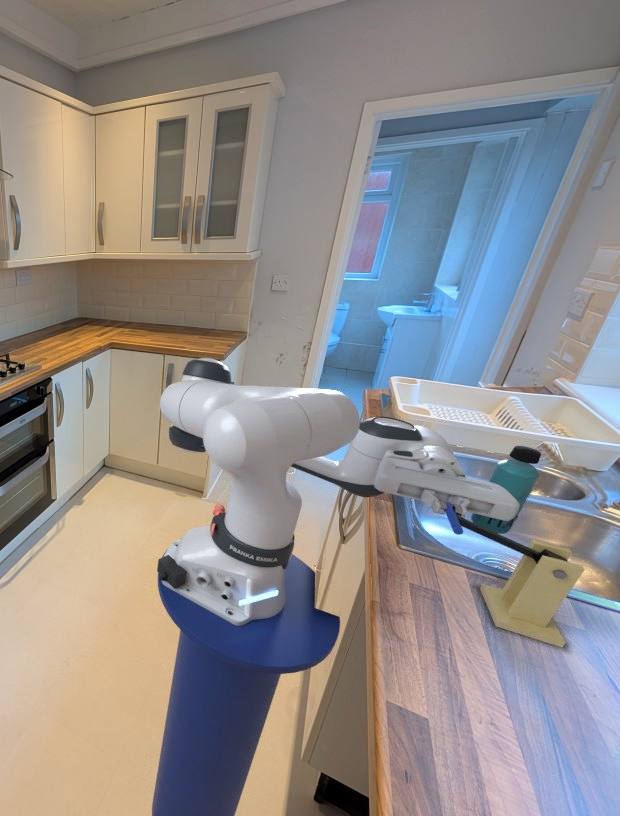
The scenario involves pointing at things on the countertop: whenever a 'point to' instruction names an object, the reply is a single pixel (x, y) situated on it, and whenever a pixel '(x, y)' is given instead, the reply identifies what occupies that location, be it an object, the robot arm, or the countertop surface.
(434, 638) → the countertop surface
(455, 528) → the lever
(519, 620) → the switch bracket
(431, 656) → the countertop surface
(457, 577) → the countertop surface
